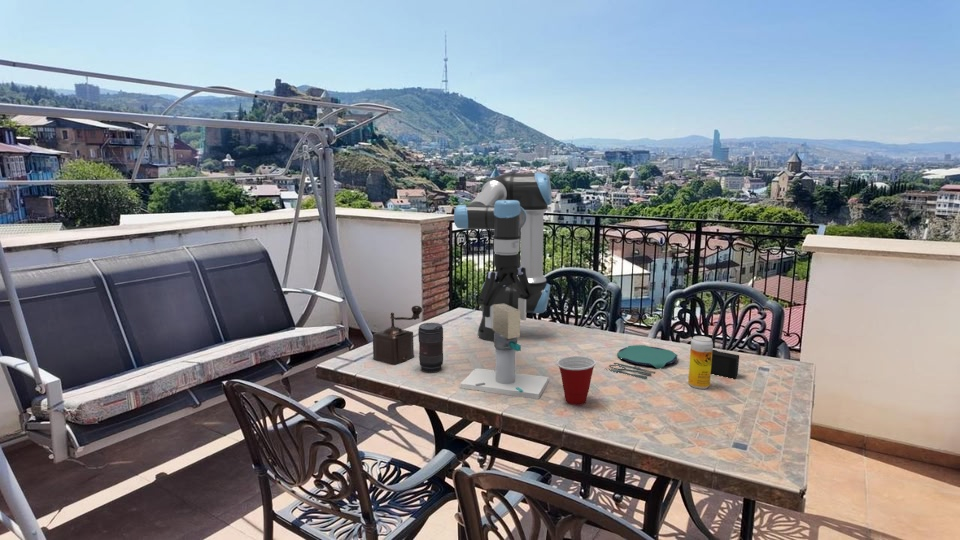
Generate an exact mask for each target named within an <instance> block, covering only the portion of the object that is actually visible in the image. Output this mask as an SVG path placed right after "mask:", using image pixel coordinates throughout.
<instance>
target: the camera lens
mask: <svg viewBox="0 0 960 540" xmlns="http://www.w3.org/2000/svg"><path fill="white" fill-rule="evenodd" d="M417 330H418V331H417V333H418V336H417V337H418V343H419V344H418V347H419V349H418V351H419V354H418V359H419V360H418V361H419V366H420V368H421V369H420V370H421V371H422V372H424V373H437V372H440V371H441V370H442V369H443V368H442V366H443V364H444V344H443V343H444V328H443V324H442V323H439V322H425V323H421V324H420V325H419V326H418V329H417Z"/></svg>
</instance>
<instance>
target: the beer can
mask: <svg viewBox="0 0 960 540" xmlns="http://www.w3.org/2000/svg"><path fill="white" fill-rule="evenodd" d="M713 347H714V343H713V340H712V338H711V337H708V336H704V335H703V336H702V335H695V336H693V337H692V339H691V340H690V352H689V353H690V355H689V364H688V368H689V369H688V379H687V380H688V381H687V382H688V384H689V386H690V387H692V388H693V389H698V390H705V389H708V388H709V387H710V385H711V376H712V374H711V364H712V351H713V350H714V348H713Z"/></svg>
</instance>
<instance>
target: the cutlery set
mask: <svg viewBox="0 0 960 540" xmlns="http://www.w3.org/2000/svg"><path fill="white" fill-rule="evenodd" d="M616 357H617V358H619V359H620V360H621V358H622V360H624V361H626V362H628V363H632V364H636V365H640V366H641V365H642V366H651V367H652V366H653V367H655V369H660V368H661V369H662V368H664V367H665V366H666V365H670V364H672V363H675V362H676V361H677V359H678V354H677V353H675V352H674V351H672V350H670V349H665V348H661V347H657V346H649V345H645V344H635V345H628V346H627V347H623V348H621V349H619V350H618V352H617V353H616ZM616 364H618V365H616ZM620 365H621V366H620ZM636 365H635V366H632V365H628V364H624V363H619V362H613V364H609V367H610V369H611V370H610V369H609V370H610V371H609V372H612V371H613V372H612V373H615V372H616V374H624V375H626V374H627V375H626V376H630V375H631V377H634V376H635V378H640V379H644V380H648V376H652V373H653V374H656V371H652V370H648V369H645V368H641V367H640V366H636ZM611 366H612V367H611ZM616 366H619V367H617V368H616ZM621 367H622V368H621ZM606 368H607V367H605V368H604V370H605V369H606ZM613 368H614V369H613ZM623 368H624V369H623ZM617 369H618V370H617ZM606 370H607V369H606ZM626 371H627V372H626ZM618 372H619V373H618ZM630 372H633V373H630ZM636 373H639V374H636ZM641 374H642V375H641Z"/></svg>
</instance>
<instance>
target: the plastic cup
mask: <svg viewBox="0 0 960 540" xmlns="http://www.w3.org/2000/svg"><path fill="white" fill-rule="evenodd" d="M596 363H597V362H596V360H595V359H594V358H593V357H589V356H585V355H571V356H568V355H567V356H564V357H561V358H559V359H558V360H557V361H556V365H557V366H558V369H559V372H560V375H561V383H562V390H563V395H564V400H565V402H566V403H567V404H569V405H572V406H583V405H585V404H586V402H587V401H588V400H587V399H588V396H589V395H588V393H589V391H590V387H591V386H590V385H591V381H592V376H593V373H594V368H595V366H596Z"/></svg>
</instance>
